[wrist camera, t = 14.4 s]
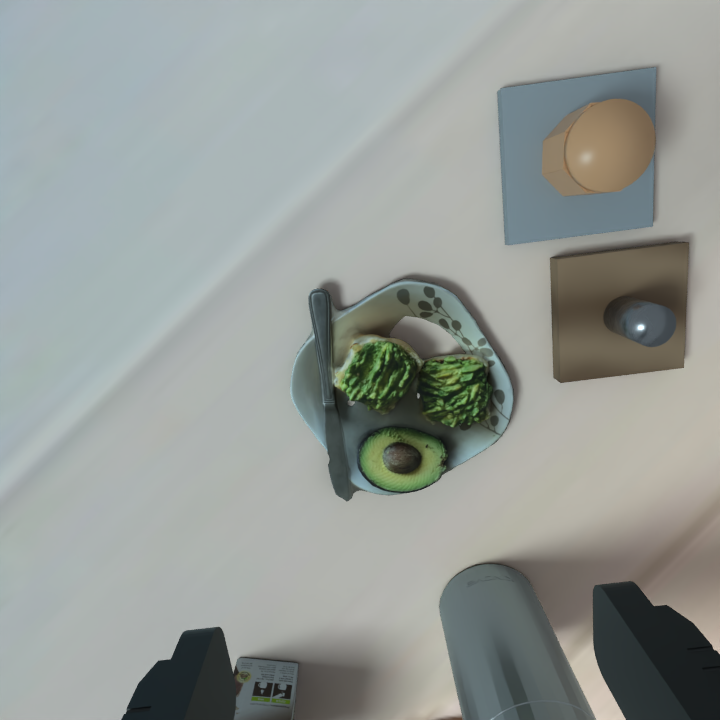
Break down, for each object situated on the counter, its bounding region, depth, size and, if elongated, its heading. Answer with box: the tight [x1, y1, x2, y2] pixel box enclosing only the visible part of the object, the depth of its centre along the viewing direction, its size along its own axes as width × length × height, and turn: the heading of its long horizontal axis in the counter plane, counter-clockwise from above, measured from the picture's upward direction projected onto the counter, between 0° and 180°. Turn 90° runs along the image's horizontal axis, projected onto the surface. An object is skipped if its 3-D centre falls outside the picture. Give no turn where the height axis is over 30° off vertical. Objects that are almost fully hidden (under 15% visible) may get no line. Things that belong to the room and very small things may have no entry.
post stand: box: [550, 242, 689, 383], centre depth 39 cm, size 10×10×6 cm
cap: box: [542, 99, 656, 196], centre depth 35 cm, size 6×6×5 cm
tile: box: [497, 67, 656, 245], centre depth 38 cm, size 11×11×1 cm
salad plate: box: [290, 279, 514, 501], centre depth 41 cm, size 19×18×5 cm
